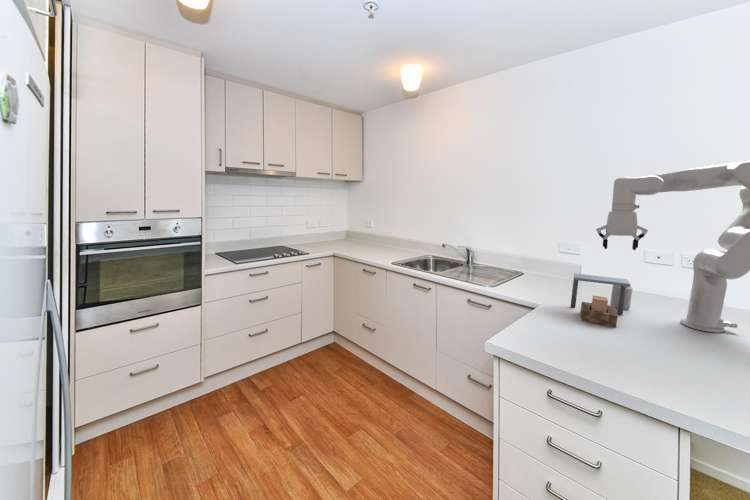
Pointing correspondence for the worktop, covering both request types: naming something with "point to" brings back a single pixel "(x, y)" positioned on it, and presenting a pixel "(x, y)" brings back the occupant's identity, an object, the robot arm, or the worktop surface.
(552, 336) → the worktop surface
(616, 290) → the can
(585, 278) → the grey arch frame
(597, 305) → the peg
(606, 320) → the socket block
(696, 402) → the worktop surface
